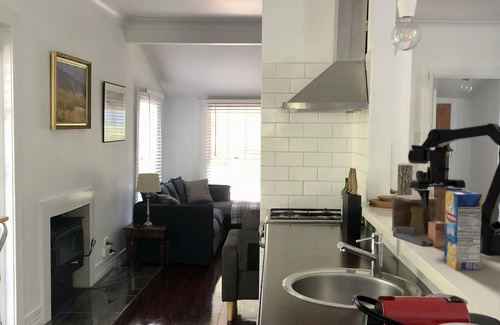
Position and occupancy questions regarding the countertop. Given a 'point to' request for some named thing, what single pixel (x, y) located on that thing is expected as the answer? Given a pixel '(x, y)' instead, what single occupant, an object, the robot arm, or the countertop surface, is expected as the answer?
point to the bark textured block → (404, 179)
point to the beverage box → (463, 229)
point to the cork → (417, 219)
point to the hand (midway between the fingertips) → (437, 208)
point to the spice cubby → (403, 210)
